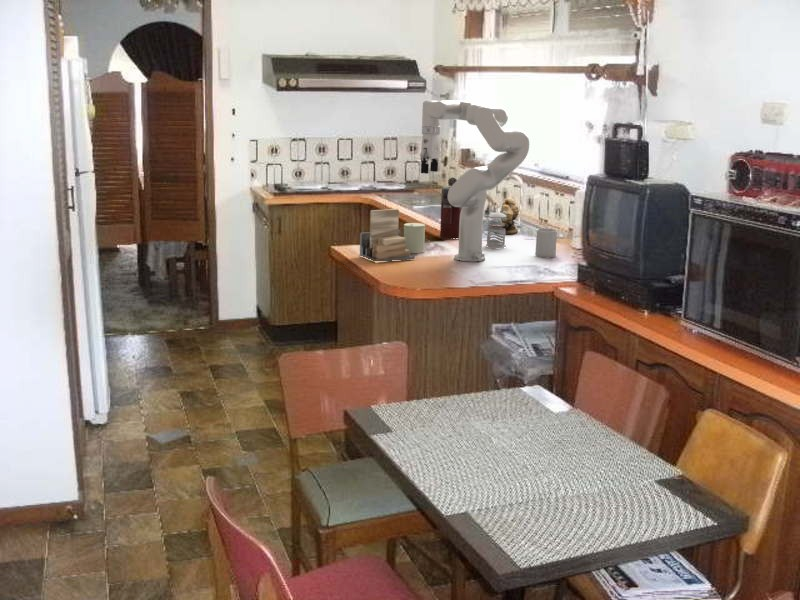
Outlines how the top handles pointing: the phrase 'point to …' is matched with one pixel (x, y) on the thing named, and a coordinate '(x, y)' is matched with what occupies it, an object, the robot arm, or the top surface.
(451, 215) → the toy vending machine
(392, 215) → the birch panel
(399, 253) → the offcut bottom
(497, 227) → the french press
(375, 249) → the offcut middle
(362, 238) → the steel rack
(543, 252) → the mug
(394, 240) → the offcut top
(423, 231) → the can
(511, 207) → the tan bust sculpture
